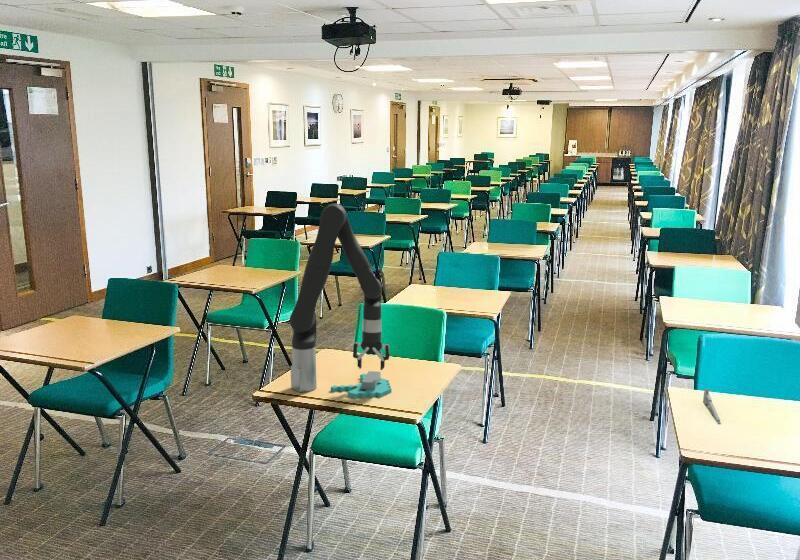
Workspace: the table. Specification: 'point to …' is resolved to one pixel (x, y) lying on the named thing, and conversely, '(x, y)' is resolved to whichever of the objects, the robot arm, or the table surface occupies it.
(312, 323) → the robot arm
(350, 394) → the alien figure
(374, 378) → the grey rectangular block
